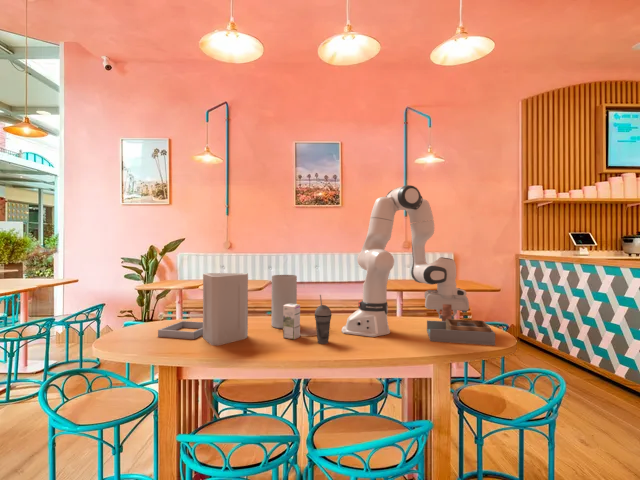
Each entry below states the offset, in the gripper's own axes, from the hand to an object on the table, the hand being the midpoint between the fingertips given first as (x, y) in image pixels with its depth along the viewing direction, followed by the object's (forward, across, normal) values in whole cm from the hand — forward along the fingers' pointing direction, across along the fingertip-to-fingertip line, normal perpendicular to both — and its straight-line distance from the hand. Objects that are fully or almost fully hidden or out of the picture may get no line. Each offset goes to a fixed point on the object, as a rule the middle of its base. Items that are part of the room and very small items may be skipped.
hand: (446, 318), depth 169 cm
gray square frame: (+5, -118, -37) cm, 124 cm away
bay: (+5, +3, -16) cm, 17 cm away
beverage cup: (+5, -54, -37) cm, 66 cm away
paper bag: (+5, -97, -44) cm, 107 cm away
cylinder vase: (+5, -79, -14) cm, 80 cm away
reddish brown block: (+5, 0, 0) cm, 5 cm away
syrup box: (+5, -69, -33) cm, 77 cm away
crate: (+3, +7, -16) cm, 18 cm away
